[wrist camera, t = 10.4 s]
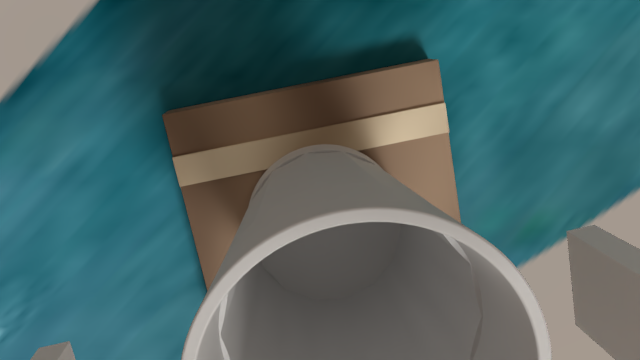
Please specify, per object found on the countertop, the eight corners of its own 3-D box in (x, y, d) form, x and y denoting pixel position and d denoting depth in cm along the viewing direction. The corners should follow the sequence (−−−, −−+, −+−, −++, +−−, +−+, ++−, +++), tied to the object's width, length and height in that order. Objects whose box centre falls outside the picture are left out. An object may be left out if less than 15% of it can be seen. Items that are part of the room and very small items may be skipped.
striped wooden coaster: (228, 346, 27) (225, 365, 25) (168, 110, 24) (161, 115, 23) (462, 296, 27) (474, 312, 26) (428, 58, 24) (439, 59, 23)
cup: (332, 344, 25) (379, 601, 14) (186, 231, 24) (98, 414, 12) (459, 209, 24) (626, 363, 13) (316, 81, 23) (357, 123, 11)
